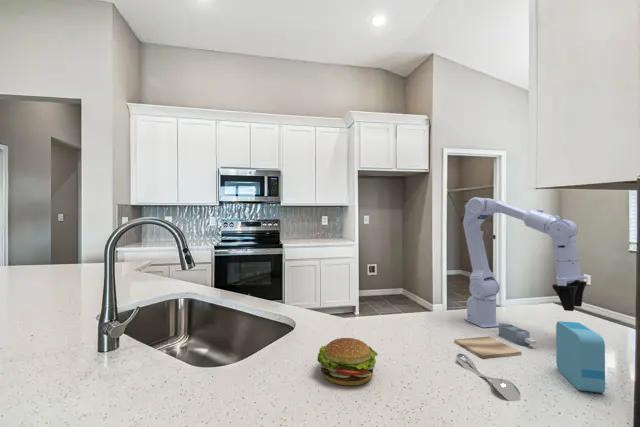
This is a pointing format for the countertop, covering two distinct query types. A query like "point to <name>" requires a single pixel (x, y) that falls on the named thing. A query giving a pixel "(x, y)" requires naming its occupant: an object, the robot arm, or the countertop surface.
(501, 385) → the silver spoon
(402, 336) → the countertop surface
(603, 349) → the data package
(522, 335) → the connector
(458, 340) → the cork pad
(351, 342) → the food
